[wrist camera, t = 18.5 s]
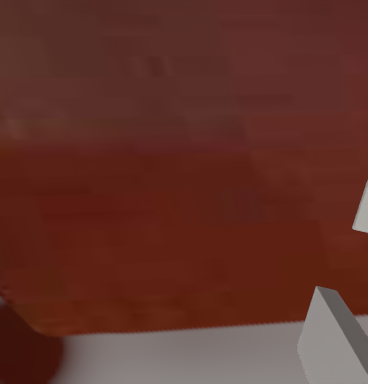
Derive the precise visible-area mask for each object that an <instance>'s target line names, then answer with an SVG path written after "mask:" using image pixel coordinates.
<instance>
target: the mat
mask: <svg viewBox="0 0 368 384" xmlns="http://www.w3.org/2000/svg"><path fill="white" fill-rule="evenodd" d="M352 229H354V230H359V231H363V232H368V181H367V184H366V187H365V190H364V193H363V196H362V199H361V202H360V205H359V208H358V211H357V214H356V218H355V221H354V224H353V227H352Z"/></svg>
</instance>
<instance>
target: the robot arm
mask: <svg viewBox="0 0 368 384" xmlns="http://www.w3.org/2000/svg"><path fill="white" fill-rule="evenodd" d="M297 350H298V353H299V356H300V359H301V362H302V365H303V368H304V371H305V374H306V377H307V380H308V383H309V384H368V337H367V335H366V334H365V333H364V331H363V329H362V328H361V326H360V325H359V323H358V322H357V320H356V319H355V317H354V316H353V314H352V313H351V311H350V310H349V309H348V307H347V306H346V304H345V303H344V301H343V300H342V298H341V297H340V295H339V294H338V292H337V291H336V290H332V289H327V288H323V287H319V286H316V289H315V292H314V295H313V298H312V301H311V304H310V308H309V311H308V314H307V317H306V320H305V323H304V327H303V330H302V333H301V336H300V339H299V342H298V345H297Z"/></svg>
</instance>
